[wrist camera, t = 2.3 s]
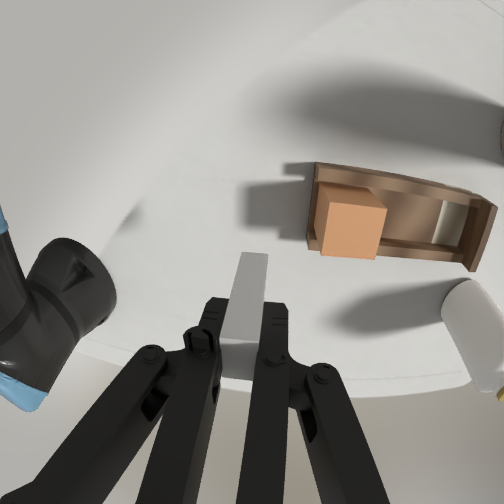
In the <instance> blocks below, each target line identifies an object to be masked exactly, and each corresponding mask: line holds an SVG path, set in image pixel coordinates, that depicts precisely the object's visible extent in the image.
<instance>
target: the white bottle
mask: <svg viewBox="0 0 504 504" xmlns="http://www.w3.org/2000/svg"><path fill="white" fill-rule="evenodd" d="M441 317H442V320H443V322H444V324H445V325H446V327H447V329H448V331H449V333H450V335H451V337H452V339H453V341H454V343H455V345H456V347H457V349H458V351H459V353H460V355H461V357H462V359H463V361H464V363H465V365H466V368H467V370H468V372H469V374H470V377H471V379H472V381H473V384H474V386H475V388H476V389H477V390H478V391H479V392H482V393H483V392H484V393H486V392H491V391H495V396H496V397H498V401H499V402H501V401H503V400H504V314H503V312H502V311H501V310H500V308H499V307H498V306H497V304H496V303H495V301H494V300H493V299H492V297H491V296H490V295H489V294H488V292H487V291H486V290H485V288H484V287H483V286H482V285H481V283H479V282H478V281H476V280H467V281H464V282H462V283H460V284H458V285H457V286H455V287H454V288H453V289H452V290H451V291H450V292H449V294H448V295H447V296H446V298H445V300H444V302H443V304H442V308H441Z"/></svg>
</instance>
